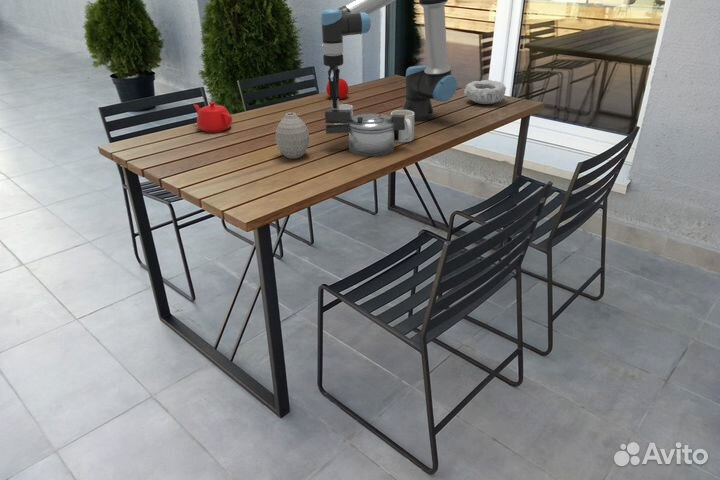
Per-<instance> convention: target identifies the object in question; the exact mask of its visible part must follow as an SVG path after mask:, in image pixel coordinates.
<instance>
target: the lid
mask: <svg viewBox="0 0 720 480" xmlns="http://www.w3.org/2000/svg"><path fill="white" fill-rule="evenodd" d="M324 114H325V115H324V118H325V120H324V121H325V124H334V123H342V124H348V126H349V127H351V128H353V129H357V130H365V131H376V130H384V129H388V128H391V127H393V126H394V125H404V124H405V115H392V117H391V115H387V114H383V113H382V114H381V113H362V114H357V115H353V117H352V110H332V109H326V110H325V111H324Z"/></svg>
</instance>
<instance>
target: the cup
mask: <svg viewBox="0 0 720 480" xmlns="http://www.w3.org/2000/svg"><path fill="white" fill-rule="evenodd" d="M339 110H352V117H353V116H354V105H351V104H347V103H345V104H340V103H339ZM337 124H342V123H333V125H337Z"/></svg>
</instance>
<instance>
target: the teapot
mask: <svg viewBox="0 0 720 480" xmlns="http://www.w3.org/2000/svg"><path fill="white" fill-rule="evenodd" d="M215 103H216V102H215V101H209V102H208V104H209V105H205V106H203V107H200V106H199V105H198V104H193V107H194V108H195V110H196V113H197V116H196V125H197V127H198V129H199V130H201V131H203V132H205V131H206V132H205V133H210V132H215V133H221V132H224V131H227V130H228V129H229V128H230V127H231V126H232V124H233V117H232V115H231V114H230V112H229V110H228V109H227V108H226V106H224V105H218V104H215Z"/></svg>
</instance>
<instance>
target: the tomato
mask: <svg viewBox="0 0 720 480" xmlns="http://www.w3.org/2000/svg"><path fill="white" fill-rule="evenodd" d="M349 90H350V89H349V86H348V82H347V81H346V80H345V79H344V78H339V96H341V98H338V99H339V100H342V99H345V98H346V97H347V96H348V95H349ZM326 93H327V95H328V96H329V97H330V87H329V81H328V82H327V84H326Z"/></svg>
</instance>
